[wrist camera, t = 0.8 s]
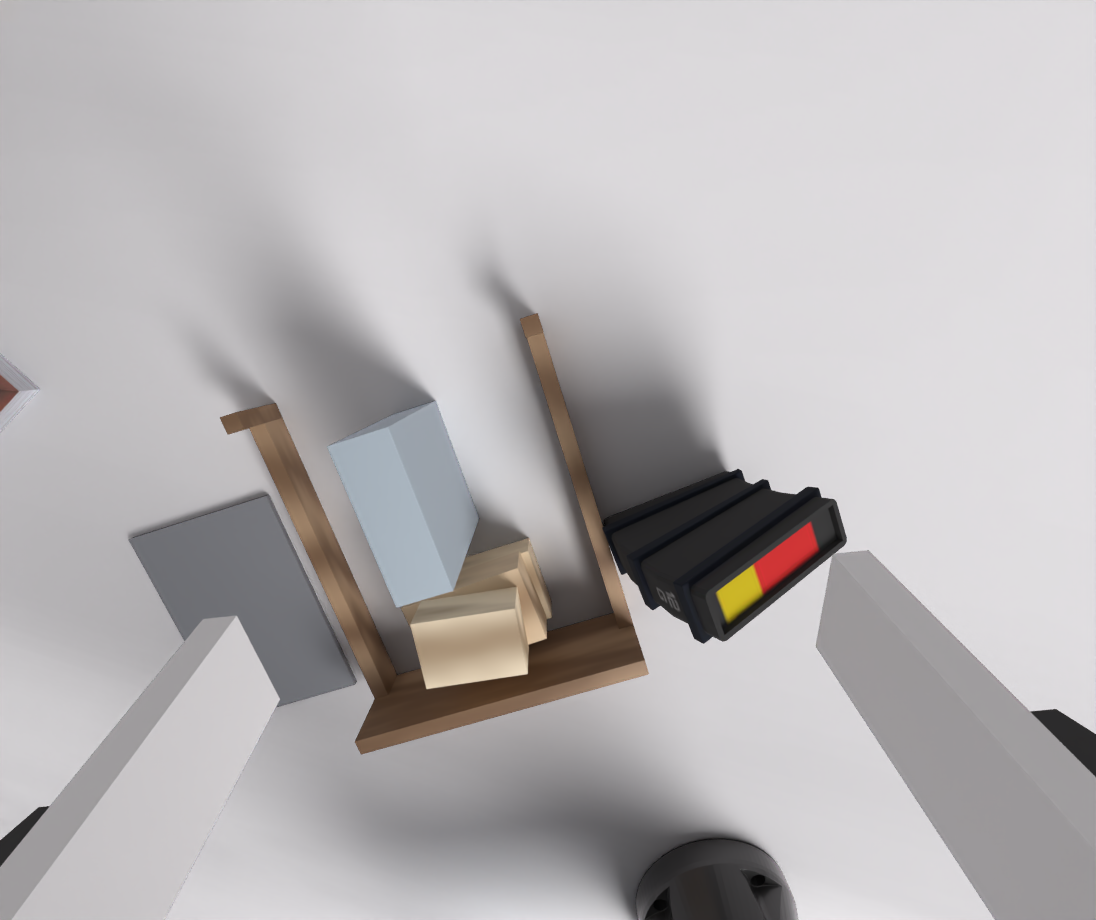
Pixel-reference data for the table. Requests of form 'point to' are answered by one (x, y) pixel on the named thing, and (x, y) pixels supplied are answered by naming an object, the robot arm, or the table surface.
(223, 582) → the mat
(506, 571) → the block
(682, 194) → the table surface
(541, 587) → the block
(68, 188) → the table surface
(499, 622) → the offcut top
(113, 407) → the table surface
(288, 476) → the rack
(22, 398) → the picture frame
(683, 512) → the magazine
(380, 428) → the pale blue chunky brick
